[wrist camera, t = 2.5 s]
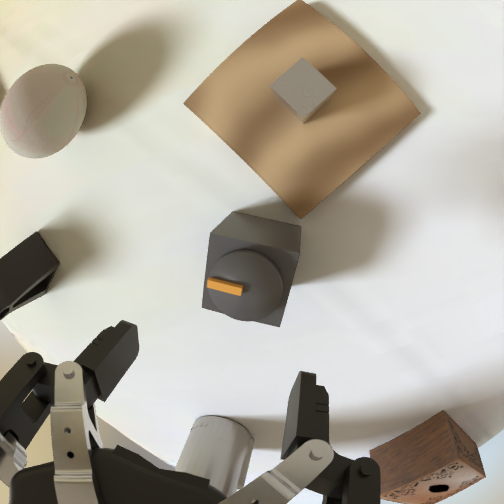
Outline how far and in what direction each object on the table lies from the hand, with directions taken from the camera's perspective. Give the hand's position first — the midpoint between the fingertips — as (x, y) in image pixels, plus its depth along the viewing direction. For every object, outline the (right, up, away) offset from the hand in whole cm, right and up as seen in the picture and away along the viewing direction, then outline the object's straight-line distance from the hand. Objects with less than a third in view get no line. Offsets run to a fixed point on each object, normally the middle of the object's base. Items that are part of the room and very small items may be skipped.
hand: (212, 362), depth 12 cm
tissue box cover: (+36, -32, +22) cm, 53 cm away
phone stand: (-29, +3, +21) cm, 36 cm away
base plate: (+6, +18, +8) cm, 20 cm away
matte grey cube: (+6, +17, +7) cm, 19 cm away
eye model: (-18, +21, +12) cm, 30 cm away
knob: (+3, +5, +14) cm, 15 cm away
